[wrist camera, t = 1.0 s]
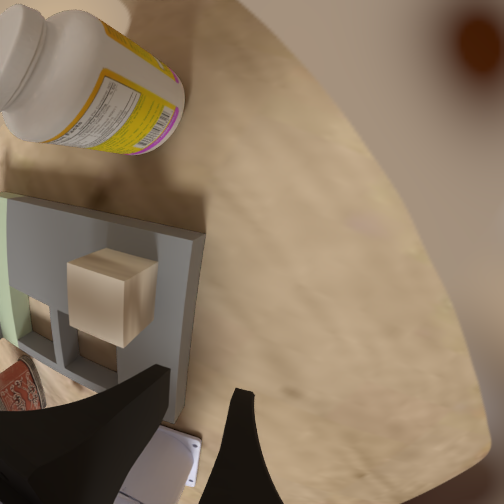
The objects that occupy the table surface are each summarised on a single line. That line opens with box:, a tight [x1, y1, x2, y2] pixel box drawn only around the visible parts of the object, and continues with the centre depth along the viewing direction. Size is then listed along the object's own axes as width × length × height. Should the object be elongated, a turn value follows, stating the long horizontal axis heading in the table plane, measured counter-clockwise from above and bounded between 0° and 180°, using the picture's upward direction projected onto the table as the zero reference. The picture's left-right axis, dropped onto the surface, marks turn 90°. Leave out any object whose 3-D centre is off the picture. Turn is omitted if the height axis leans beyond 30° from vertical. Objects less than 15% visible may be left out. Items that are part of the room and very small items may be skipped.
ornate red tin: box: [0, 356, 46, 411], centre depth 23 cm, size 8×3×10 cm, turn 171°
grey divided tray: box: [0, 192, 206, 424], centre depth 21 cm, size 15×22×4 cm
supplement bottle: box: [0, 4, 185, 155], centre depth 12 cm, size 7×7×13 cm
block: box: [67, 248, 158, 348], centre depth 17 cm, size 4×4×4 cm
